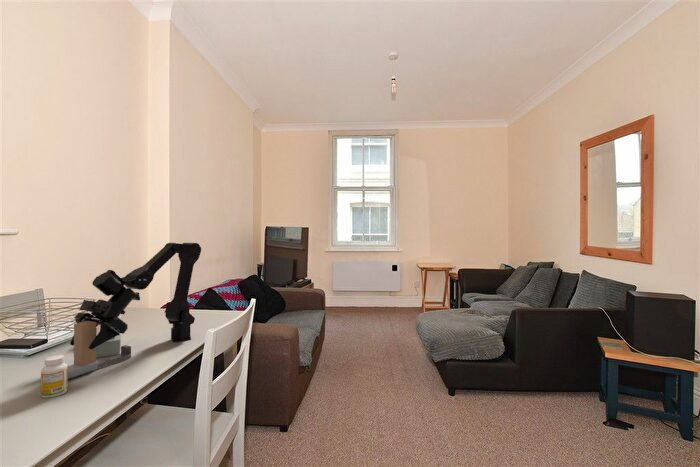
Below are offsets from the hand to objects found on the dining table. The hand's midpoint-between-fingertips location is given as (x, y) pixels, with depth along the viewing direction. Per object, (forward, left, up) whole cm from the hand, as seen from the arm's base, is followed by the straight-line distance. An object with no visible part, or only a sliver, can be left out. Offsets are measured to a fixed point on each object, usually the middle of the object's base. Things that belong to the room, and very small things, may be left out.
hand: (80, 346), depth 104 cm
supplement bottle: (+4, +13, -8) cm, 16 cm away
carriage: (+1, 0, -7) cm, 8 cm away
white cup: (-5, -34, -8) cm, 36 cm away
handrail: (-3, -2, -8) cm, 9 cm away
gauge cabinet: (-6, -17, -8) cm, 20 cm away
